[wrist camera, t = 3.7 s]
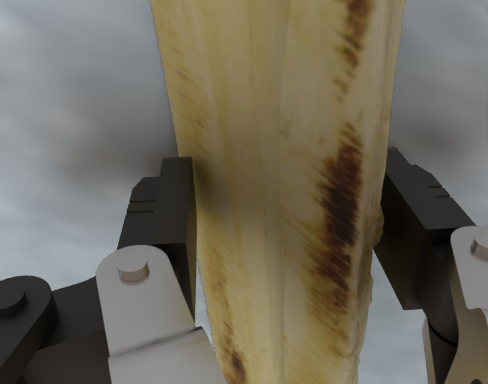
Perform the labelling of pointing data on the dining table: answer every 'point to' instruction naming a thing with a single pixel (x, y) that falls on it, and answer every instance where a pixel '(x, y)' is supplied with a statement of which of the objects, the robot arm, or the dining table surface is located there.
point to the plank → (284, 172)
